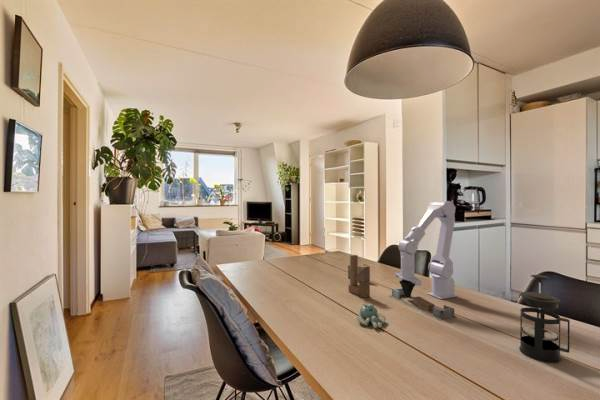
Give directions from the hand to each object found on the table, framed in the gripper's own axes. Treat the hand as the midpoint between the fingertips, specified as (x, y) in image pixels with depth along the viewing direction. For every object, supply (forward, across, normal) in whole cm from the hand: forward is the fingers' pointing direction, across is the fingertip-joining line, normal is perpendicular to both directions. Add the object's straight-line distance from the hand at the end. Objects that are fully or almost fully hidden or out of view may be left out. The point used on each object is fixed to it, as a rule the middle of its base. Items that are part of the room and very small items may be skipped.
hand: (407, 297), depth 130 cm
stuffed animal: (+2, +14, -29) cm, 32 cm away
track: (+1, +7, 0) cm, 7 cm away
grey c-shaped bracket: (+1, +19, 0) cm, 19 cm away
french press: (+1, +50, +4) cm, 51 cm away
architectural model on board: (+2, -36, -3) cm, 36 cm away
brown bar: (+2, +9, 0) cm, 10 cm away
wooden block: (+1, -14, -16) cm, 22 cm away
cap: (+1, -4, 0) cm, 5 cm away
